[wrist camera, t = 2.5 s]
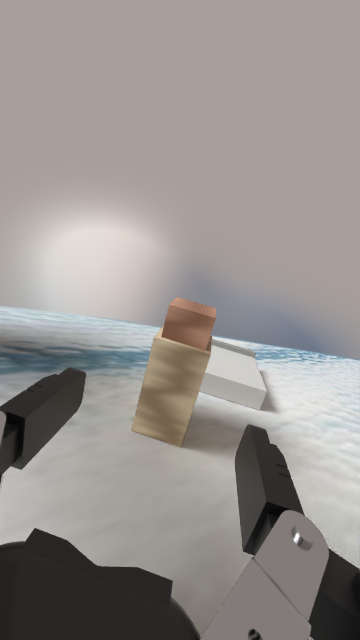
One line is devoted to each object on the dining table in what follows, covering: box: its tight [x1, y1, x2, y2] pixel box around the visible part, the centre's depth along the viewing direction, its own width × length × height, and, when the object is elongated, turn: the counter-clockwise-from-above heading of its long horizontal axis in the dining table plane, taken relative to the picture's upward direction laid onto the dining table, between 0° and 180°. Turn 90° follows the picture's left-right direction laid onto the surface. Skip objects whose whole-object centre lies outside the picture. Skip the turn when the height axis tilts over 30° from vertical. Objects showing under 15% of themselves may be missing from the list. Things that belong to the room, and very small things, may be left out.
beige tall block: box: [131, 297, 216, 447], centre depth 23 cm, size 5×5×13 cm
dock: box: [199, 339, 267, 410], centre depth 37 cm, size 14×12×4 cm
